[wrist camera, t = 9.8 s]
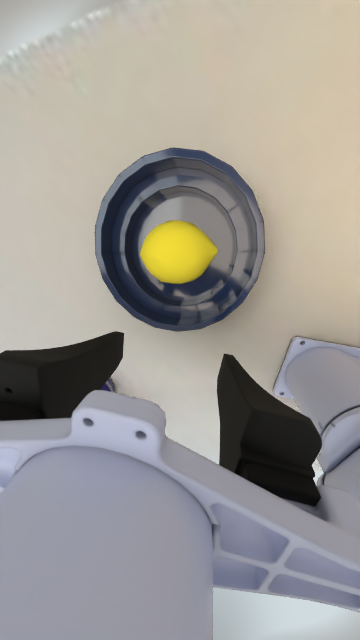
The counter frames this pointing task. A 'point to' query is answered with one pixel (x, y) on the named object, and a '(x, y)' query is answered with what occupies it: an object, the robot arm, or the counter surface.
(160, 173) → the stepped navy bowl
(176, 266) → the lemon
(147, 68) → the counter surface
